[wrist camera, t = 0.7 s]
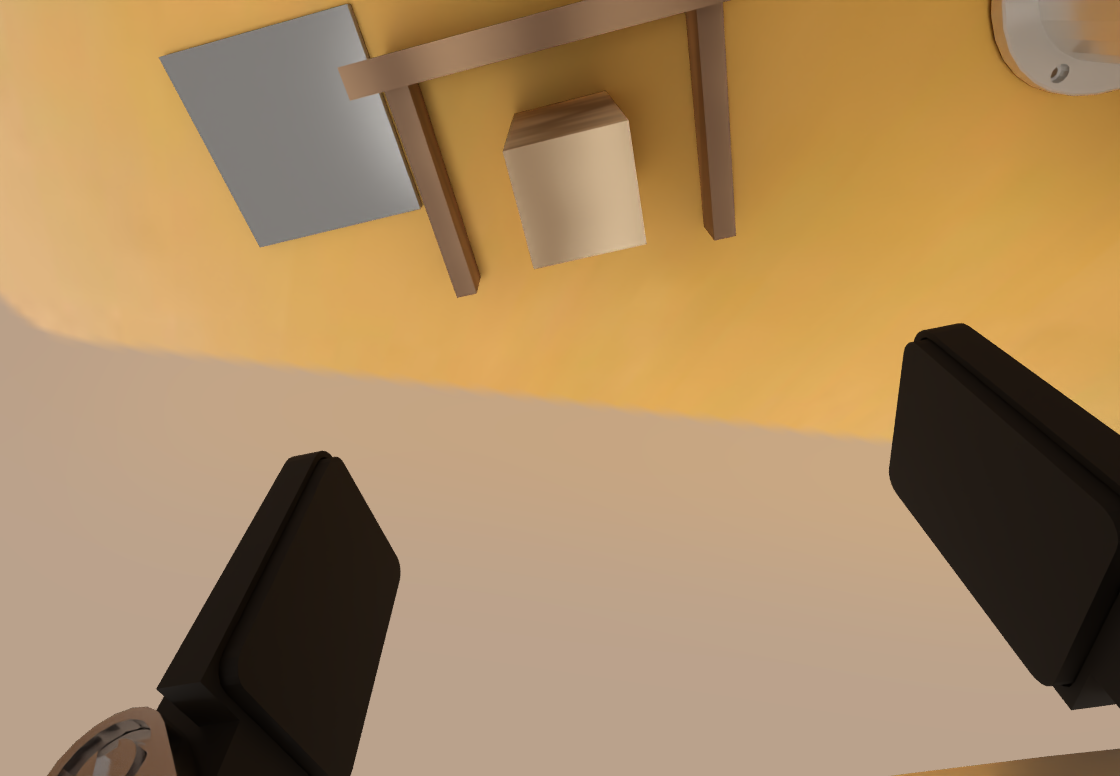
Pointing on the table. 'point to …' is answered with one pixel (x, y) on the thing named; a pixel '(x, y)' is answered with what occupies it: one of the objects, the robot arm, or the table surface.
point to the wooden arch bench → (603, 10)
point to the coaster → (295, 127)
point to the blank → (574, 179)
